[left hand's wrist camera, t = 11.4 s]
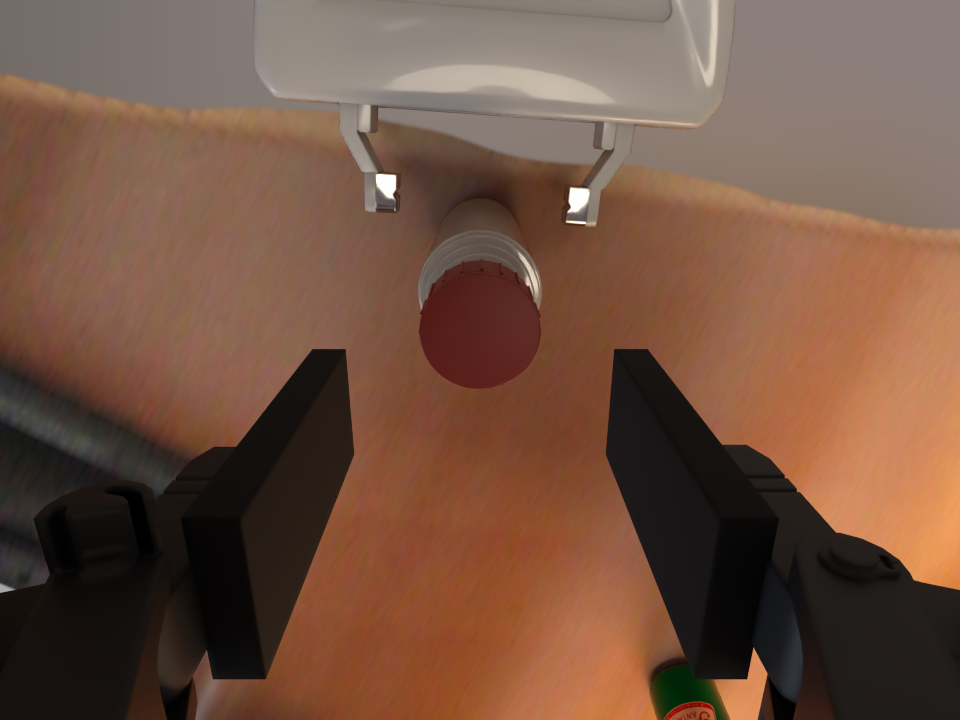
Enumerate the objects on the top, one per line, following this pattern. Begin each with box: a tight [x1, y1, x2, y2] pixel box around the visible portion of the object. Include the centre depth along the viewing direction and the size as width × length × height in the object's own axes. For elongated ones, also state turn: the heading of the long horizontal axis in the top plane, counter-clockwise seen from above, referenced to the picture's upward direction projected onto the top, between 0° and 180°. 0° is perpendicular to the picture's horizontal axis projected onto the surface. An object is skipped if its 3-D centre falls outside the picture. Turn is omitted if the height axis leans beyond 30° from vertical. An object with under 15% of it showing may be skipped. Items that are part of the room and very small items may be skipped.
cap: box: [419, 259, 541, 389], centre depth 20 cm, size 4×4×2 cm
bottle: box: [418, 198, 542, 310], centre depth 28 cm, size 5×5×18 cm
